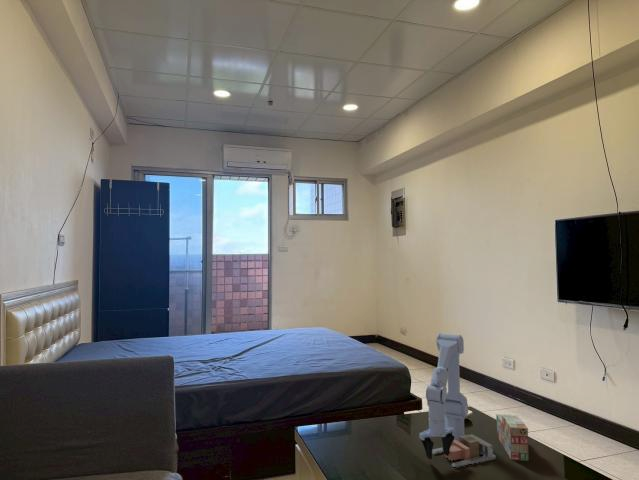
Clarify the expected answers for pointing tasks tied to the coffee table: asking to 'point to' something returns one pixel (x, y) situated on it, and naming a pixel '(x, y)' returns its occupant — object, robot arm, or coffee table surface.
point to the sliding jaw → (458, 451)
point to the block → (470, 445)
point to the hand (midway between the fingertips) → (437, 456)
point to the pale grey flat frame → (484, 450)
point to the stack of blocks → (513, 436)
